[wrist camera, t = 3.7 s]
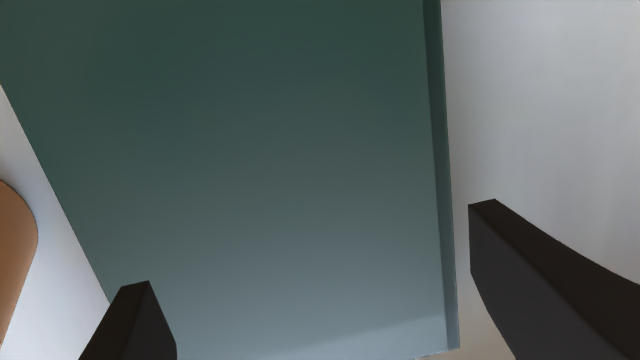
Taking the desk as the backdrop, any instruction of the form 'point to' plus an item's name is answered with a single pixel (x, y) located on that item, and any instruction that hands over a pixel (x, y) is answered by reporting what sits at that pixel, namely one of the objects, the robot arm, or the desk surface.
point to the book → (251, 165)
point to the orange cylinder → (14, 251)
